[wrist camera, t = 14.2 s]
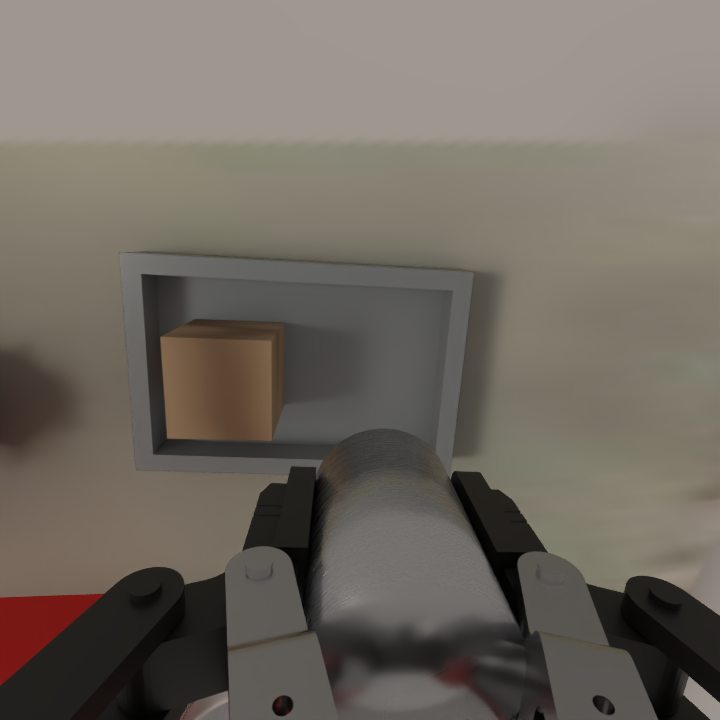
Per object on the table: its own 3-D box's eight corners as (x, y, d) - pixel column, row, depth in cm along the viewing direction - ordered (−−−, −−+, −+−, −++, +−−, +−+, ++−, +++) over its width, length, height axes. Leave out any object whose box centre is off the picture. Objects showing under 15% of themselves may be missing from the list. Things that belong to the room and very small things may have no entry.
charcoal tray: (153, 450, 28) (136, 470, 25) (140, 251, 25) (119, 252, 22) (440, 459, 29) (449, 479, 26) (461, 269, 26) (474, 272, 23)
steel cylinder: (311, 547, 14) (291, 771, 8) (316, 426, 13) (296, 580, 7) (440, 549, 14) (512, 769, 8) (454, 431, 13) (549, 584, 7)
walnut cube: (199, 402, 26) (167, 438, 21) (194, 318, 25) (160, 336, 20) (284, 405, 27) (271, 440, 22) (284, 322, 25) (271, 340, 20)
